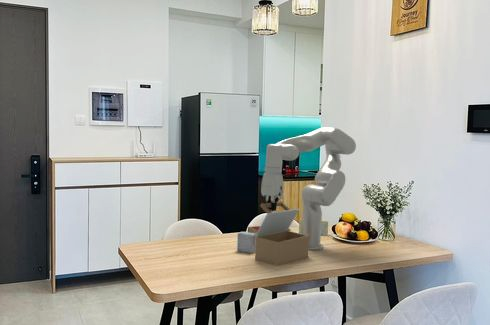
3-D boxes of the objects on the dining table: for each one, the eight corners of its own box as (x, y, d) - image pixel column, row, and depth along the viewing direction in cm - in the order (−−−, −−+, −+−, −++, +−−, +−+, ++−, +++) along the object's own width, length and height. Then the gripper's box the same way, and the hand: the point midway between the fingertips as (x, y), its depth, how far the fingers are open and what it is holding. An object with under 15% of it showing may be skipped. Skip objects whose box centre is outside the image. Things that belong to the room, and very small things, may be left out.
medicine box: (255, 251, 216) (256, 233, 216) (252, 253, 212) (252, 235, 212) (240, 248, 220) (241, 231, 219) (236, 251, 216) (237, 233, 215)
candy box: (327, 235, 257) (328, 220, 257) (327, 236, 255) (328, 221, 255) (298, 233, 259) (299, 219, 258) (298, 234, 257) (299, 219, 256)
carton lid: (256, 236, 203) (244, 224, 208) (287, 230, 219) (276, 218, 223) (268, 214, 197) (256, 202, 202) (299, 209, 213) (287, 198, 218)
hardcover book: (247, 233, 255) (248, 226, 255) (280, 231, 263) (281, 224, 263) (256, 238, 244) (256, 230, 244) (290, 236, 252) (291, 229, 252)
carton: (255, 258, 204) (256, 236, 203) (286, 250, 219) (287, 230, 219) (277, 265, 195) (278, 242, 194) (308, 257, 210) (309, 235, 209)
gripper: (255, 169, 212) (253, 208, 213) (281, 172, 201) (279, 213, 202) (266, 169, 218) (264, 207, 219) (292, 172, 206) (289, 212, 208)
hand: (271, 210), depth 210 cm, fingers closed on carton lid, 2 cm apart
